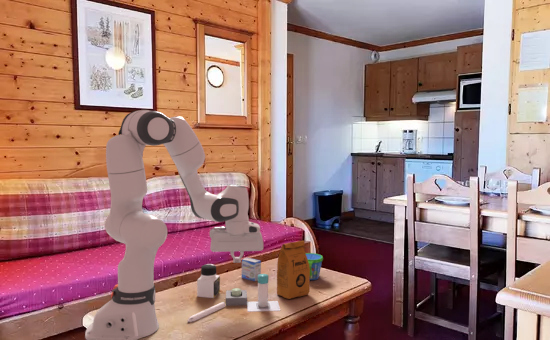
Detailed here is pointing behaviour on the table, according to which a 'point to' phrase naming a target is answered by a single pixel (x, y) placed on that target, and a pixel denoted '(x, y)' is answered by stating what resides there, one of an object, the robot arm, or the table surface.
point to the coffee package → (293, 271)
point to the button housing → (236, 298)
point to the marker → (206, 312)
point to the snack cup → (314, 265)
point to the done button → (236, 292)
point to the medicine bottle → (208, 282)
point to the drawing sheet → (271, 307)
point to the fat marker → (262, 290)
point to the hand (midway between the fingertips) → (237, 262)
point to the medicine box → (251, 269)
